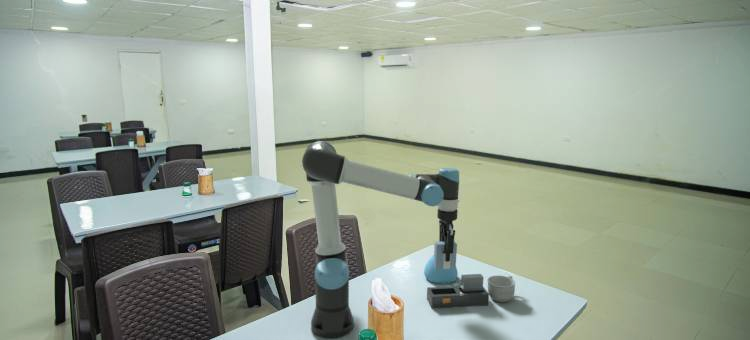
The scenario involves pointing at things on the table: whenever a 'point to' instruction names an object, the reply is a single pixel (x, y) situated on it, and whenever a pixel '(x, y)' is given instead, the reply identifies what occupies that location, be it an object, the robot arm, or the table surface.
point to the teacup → (501, 288)
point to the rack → (459, 293)
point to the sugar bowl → (439, 273)
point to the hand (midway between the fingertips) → (445, 266)
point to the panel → (439, 255)
